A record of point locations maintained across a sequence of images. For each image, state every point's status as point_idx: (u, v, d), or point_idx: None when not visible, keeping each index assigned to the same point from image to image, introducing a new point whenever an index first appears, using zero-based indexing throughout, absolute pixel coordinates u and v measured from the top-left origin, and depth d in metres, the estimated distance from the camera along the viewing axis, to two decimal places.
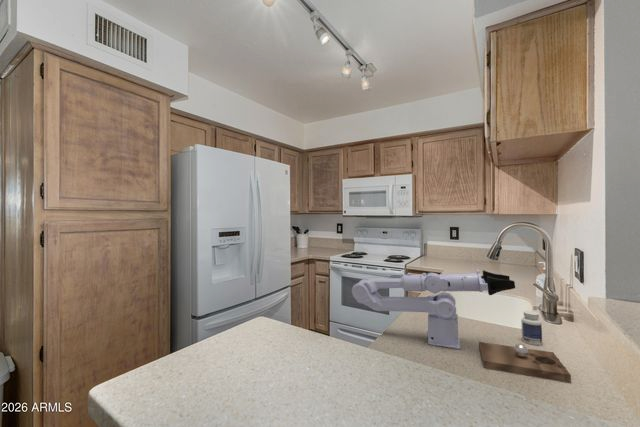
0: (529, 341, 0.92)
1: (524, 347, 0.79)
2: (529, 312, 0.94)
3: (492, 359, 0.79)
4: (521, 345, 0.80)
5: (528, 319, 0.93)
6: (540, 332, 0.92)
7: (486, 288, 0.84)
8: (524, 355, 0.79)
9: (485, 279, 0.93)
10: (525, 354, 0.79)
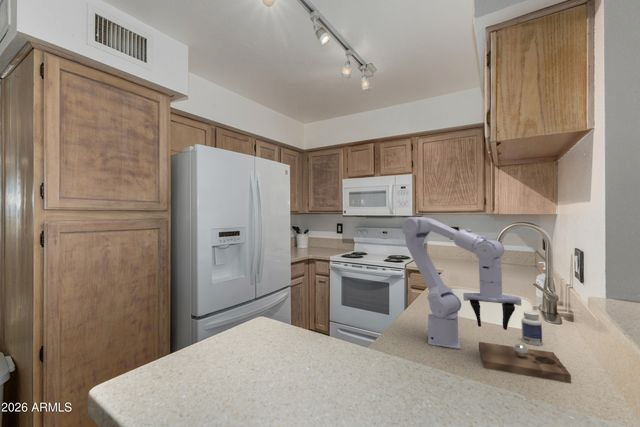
0: (529, 341, 0.92)
1: (524, 347, 0.79)
2: (529, 312, 0.94)
3: (492, 359, 0.79)
4: (521, 345, 0.80)
5: (528, 319, 0.93)
6: (540, 332, 0.92)
7: (463, 297, 0.87)
8: (524, 355, 0.79)
9: (503, 305, 0.82)
10: (525, 354, 0.79)
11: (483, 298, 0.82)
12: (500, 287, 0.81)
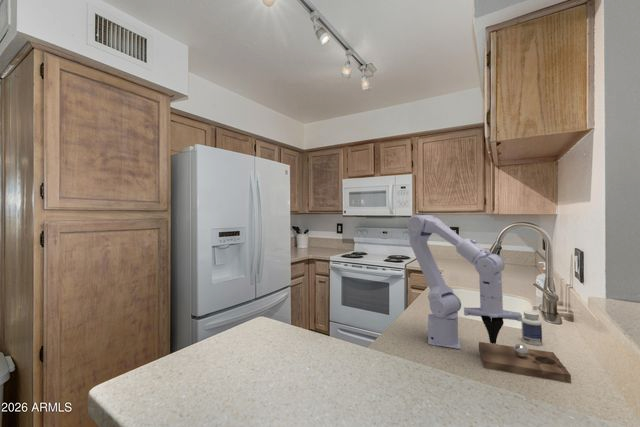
0: (529, 341, 0.92)
1: (524, 347, 0.79)
2: (529, 312, 0.94)
3: (492, 359, 0.79)
4: (521, 345, 0.80)
5: (528, 319, 0.93)
6: (540, 332, 0.92)
7: None
8: (524, 355, 0.79)
9: (492, 319, 0.83)
10: (525, 354, 0.79)
11: (484, 313, 0.82)
12: (501, 303, 0.81)
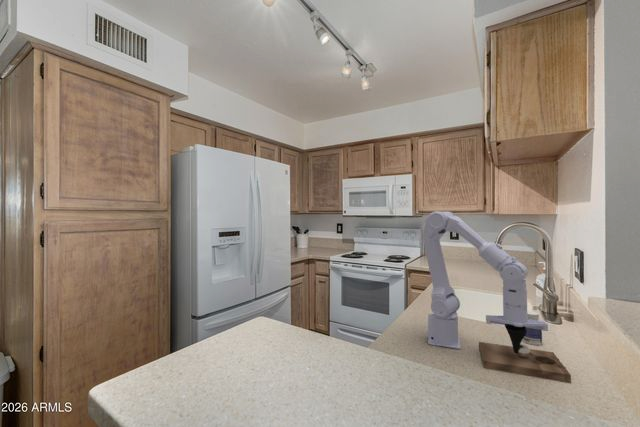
0: (529, 341, 0.92)
1: (527, 348, 0.79)
2: (529, 312, 0.94)
3: (492, 359, 0.79)
4: (524, 346, 0.79)
5: None
6: (540, 332, 0.92)
7: (486, 320, 0.84)
8: (525, 356, 0.79)
9: None
10: (526, 355, 0.78)
11: (507, 322, 0.79)
12: (525, 311, 0.78)
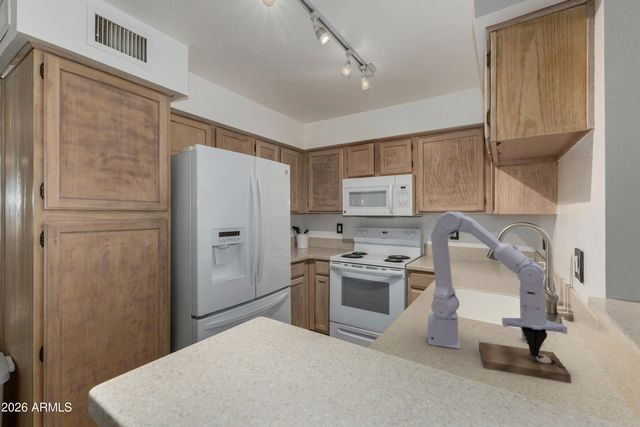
0: None
1: None
2: None
3: (492, 359, 0.79)
4: None
5: None
6: None
7: (502, 323, 0.82)
8: None
9: (534, 331, 0.79)
10: None
11: (525, 325, 0.78)
12: (544, 314, 0.77)
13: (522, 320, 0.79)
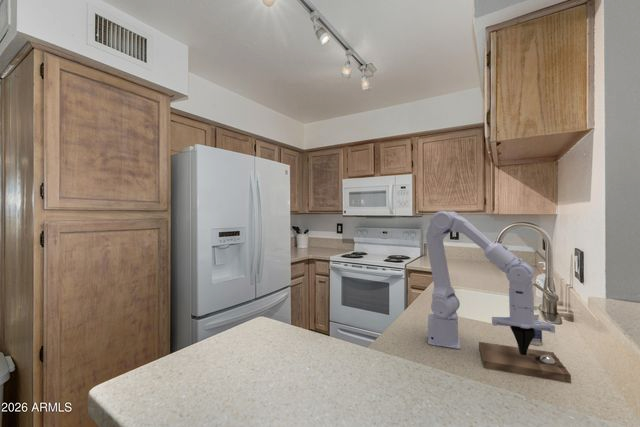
0: None
1: None
2: None
3: (492, 359, 0.79)
4: None
5: None
6: (540, 332, 0.92)
7: (492, 322, 0.83)
8: (545, 362, 0.77)
9: (523, 329, 0.80)
10: None
11: (514, 324, 0.79)
12: (532, 313, 0.78)
13: (511, 319, 0.80)
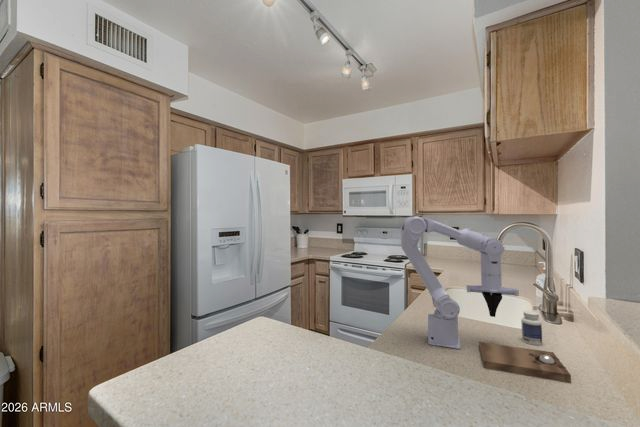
0: (529, 341, 0.92)
1: None
2: (529, 312, 0.94)
3: (492, 359, 0.79)
4: None
5: (528, 319, 0.93)
6: (540, 332, 0.92)
7: None
8: (544, 362, 0.77)
9: (492, 295, 0.93)
10: None
11: (484, 290, 0.91)
12: (500, 280, 0.90)
13: (482, 286, 0.93)
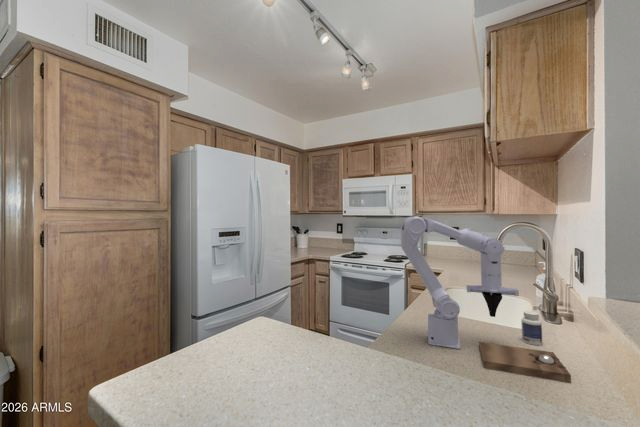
0: (529, 341, 0.92)
1: None
2: (529, 312, 0.94)
3: (492, 359, 0.79)
4: None
5: (528, 319, 0.93)
6: (540, 332, 0.92)
7: None
8: (544, 363, 0.77)
9: (492, 295, 0.93)
10: None
11: (484, 290, 0.91)
12: (500, 280, 0.90)
13: (482, 286, 0.93)
